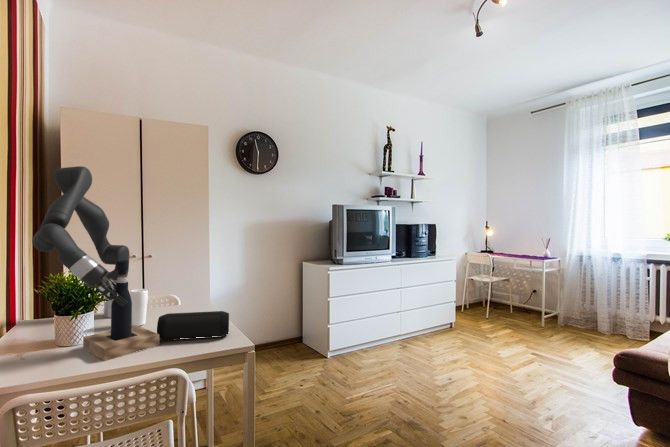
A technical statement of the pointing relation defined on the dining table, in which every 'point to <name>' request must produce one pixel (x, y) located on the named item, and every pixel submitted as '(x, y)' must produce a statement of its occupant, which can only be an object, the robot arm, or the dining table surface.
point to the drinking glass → (139, 306)
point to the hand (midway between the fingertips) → (127, 302)
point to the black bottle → (119, 314)
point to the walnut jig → (120, 343)
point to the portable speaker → (193, 325)
